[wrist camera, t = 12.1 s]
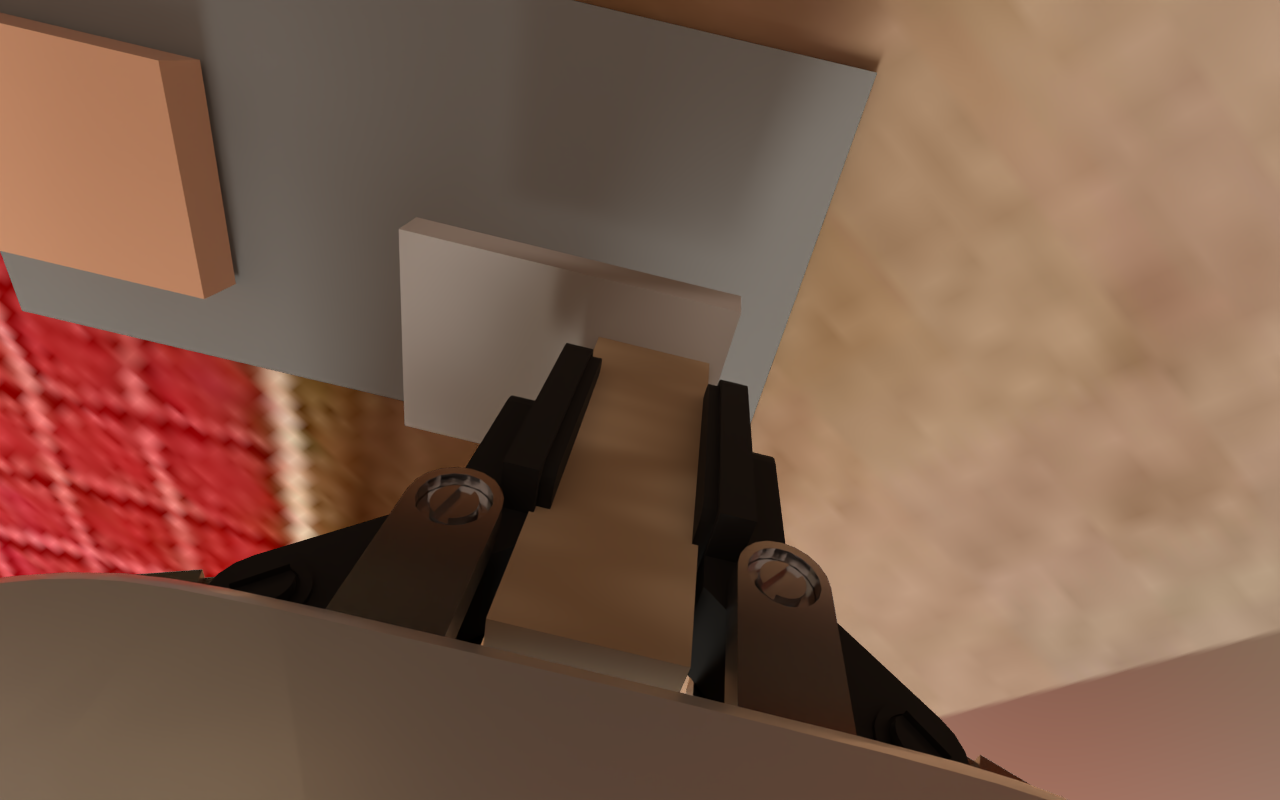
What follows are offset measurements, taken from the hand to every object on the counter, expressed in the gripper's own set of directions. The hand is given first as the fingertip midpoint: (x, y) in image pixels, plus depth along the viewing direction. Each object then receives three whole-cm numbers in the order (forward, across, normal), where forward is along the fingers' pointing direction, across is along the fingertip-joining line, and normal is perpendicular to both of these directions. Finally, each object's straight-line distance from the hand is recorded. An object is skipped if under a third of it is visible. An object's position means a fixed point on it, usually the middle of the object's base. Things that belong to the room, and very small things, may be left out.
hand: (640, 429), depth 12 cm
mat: (+9, +10, 0) cm, 13 cm away
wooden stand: (+2, +2, 0) cm, 3 cm away
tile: (+8, +15, 0) cm, 17 cm away
